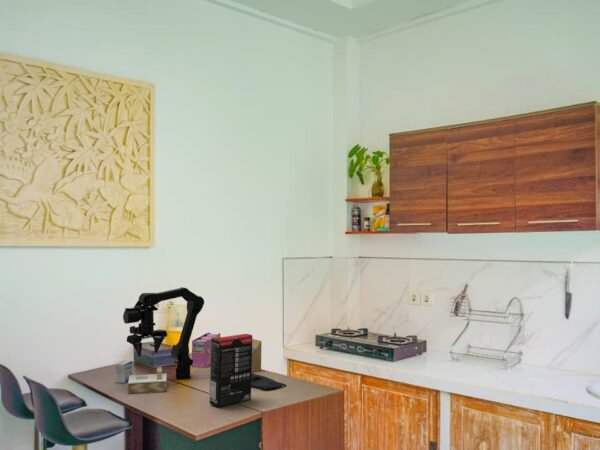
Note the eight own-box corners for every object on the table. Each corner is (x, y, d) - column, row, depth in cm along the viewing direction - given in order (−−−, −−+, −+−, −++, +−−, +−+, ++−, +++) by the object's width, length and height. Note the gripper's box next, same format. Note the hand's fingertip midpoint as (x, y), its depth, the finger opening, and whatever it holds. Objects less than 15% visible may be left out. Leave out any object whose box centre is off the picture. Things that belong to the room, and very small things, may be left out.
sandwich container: (226, 373, 287) (226, 342, 287) (249, 367, 298) (249, 338, 298) (238, 376, 281) (238, 345, 281) (261, 370, 293) (261, 340, 293)
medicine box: (124, 383, 268) (124, 364, 268) (115, 382, 269) (115, 364, 269) (132, 378, 276) (132, 360, 276) (124, 378, 277) (124, 360, 277)
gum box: (208, 356, 322) (208, 332, 322) (222, 357, 320) (222, 332, 320) (191, 367, 298) (191, 340, 298) (205, 368, 297) (206, 341, 297)
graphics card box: (242, 396, 249) (243, 332, 249) (253, 400, 244) (253, 334, 244) (209, 404, 237) (209, 337, 237) (219, 408, 232) (219, 340, 232)
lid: (166, 374, 267) (166, 365, 267) (166, 381, 255) (166, 372, 255) (129, 376, 263) (129, 367, 263) (128, 383, 251) (128, 374, 251)
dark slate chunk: (262, 393, 254) (262, 382, 254) (233, 383, 271) (233, 373, 271) (289, 387, 264) (289, 376, 264) (259, 377, 281) (259, 367, 281)
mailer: (166, 384, 267) (166, 375, 267) (166, 391, 255) (166, 382, 255) (129, 386, 263) (129, 377, 263) (128, 393, 252) (128, 384, 251)
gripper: (152, 316, 279) (152, 348, 279) (118, 322, 264) (119, 356, 264) (167, 318, 272) (168, 352, 272) (134, 324, 257) (134, 360, 258)
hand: (147, 355), depth 267 cm, fingers open, 9 cm apart
